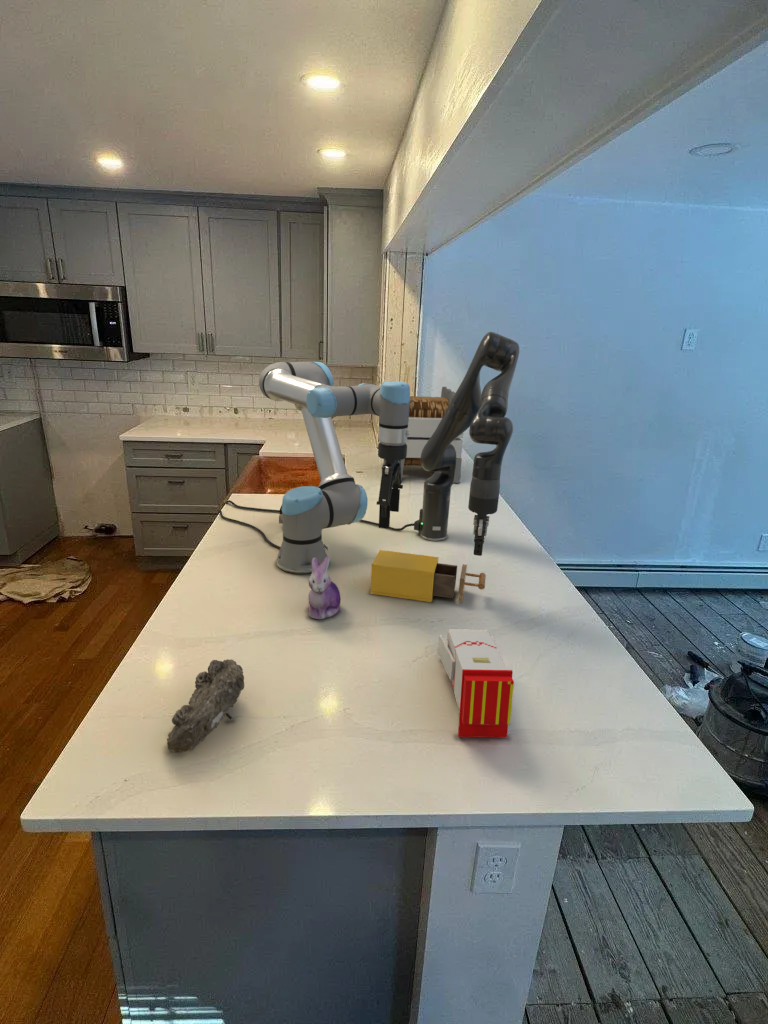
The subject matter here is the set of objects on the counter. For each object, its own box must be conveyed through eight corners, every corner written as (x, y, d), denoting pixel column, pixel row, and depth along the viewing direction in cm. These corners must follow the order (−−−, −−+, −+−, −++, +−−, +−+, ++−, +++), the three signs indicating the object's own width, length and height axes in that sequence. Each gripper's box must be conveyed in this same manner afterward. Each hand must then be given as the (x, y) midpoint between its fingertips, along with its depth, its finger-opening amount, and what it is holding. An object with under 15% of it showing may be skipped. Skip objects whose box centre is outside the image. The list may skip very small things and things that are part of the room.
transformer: (382, 463, 289) (386, 382, 275) (445, 464, 293) (451, 384, 279) (390, 482, 257) (394, 392, 243) (460, 483, 261) (468, 394, 247)
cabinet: (436, 585, 164) (438, 557, 161) (431, 602, 154) (434, 572, 151) (378, 577, 167) (379, 549, 164) (370, 593, 157) (371, 564, 154)
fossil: (192, 660, 117) (244, 628, 112) (224, 691, 120) (276, 661, 115) (142, 746, 98) (202, 712, 93) (182, 779, 101) (242, 748, 96)
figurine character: (297, 533, 199) (302, 514, 212) (296, 514, 196) (301, 496, 209) (278, 533, 199) (284, 514, 212) (277, 514, 195) (283, 495, 209)
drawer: (484, 589, 160) (486, 567, 158) (482, 605, 152) (485, 581, 150) (409, 580, 164) (411, 557, 162) (404, 594, 156) (405, 571, 153)
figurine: (313, 624, 141) (313, 569, 135) (299, 605, 149) (299, 553, 144) (348, 616, 145) (349, 563, 140) (333, 598, 153) (333, 547, 148)
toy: (488, 613, 130) (523, 677, 101) (484, 667, 133) (517, 744, 104) (435, 612, 130) (455, 676, 101) (432, 666, 133) (451, 743, 103)
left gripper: (398, 455, 135) (394, 537, 142) (414, 434, 158) (410, 506, 165) (367, 452, 136) (364, 534, 143) (388, 432, 159) (384, 503, 167)
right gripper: (498, 502, 140) (491, 566, 146) (499, 487, 152) (492, 546, 158) (468, 499, 141) (461, 562, 147) (471, 484, 153) (465, 543, 159)
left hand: (389, 519), depth 154 cm, fingers open, 13 cm apart
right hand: (477, 554), depth 152 cm, fingers closed
